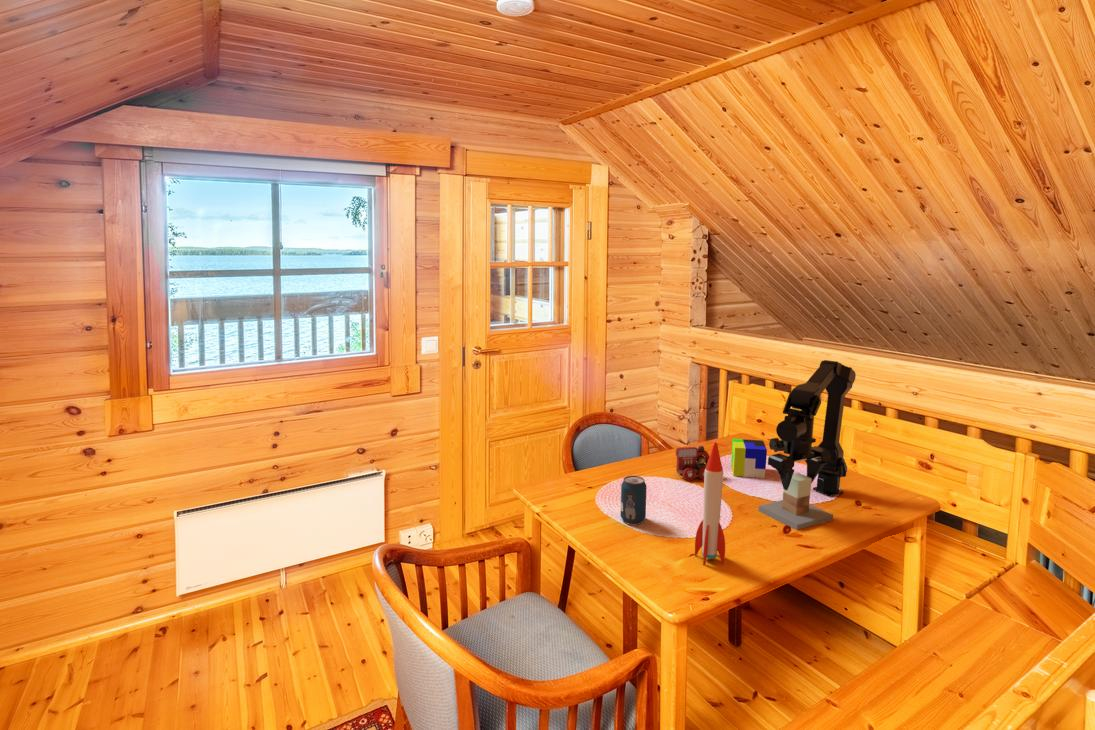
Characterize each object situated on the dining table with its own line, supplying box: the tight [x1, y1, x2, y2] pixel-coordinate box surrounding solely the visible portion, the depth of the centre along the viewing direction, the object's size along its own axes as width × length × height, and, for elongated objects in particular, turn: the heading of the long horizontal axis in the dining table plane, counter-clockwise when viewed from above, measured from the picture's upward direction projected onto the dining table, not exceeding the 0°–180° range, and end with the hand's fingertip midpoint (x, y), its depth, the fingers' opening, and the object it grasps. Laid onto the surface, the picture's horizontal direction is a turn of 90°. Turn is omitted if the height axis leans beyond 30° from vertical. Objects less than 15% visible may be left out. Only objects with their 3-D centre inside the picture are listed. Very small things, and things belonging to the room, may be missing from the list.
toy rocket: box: [694, 441, 726, 566], centre depth 153 cm, size 6×6×30 cm
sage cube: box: [783, 472, 812, 498], centre depth 179 cm, size 5×5×5 cm
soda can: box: [620, 475, 647, 525], centre depth 176 cm, size 7×7×12 cm
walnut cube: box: [782, 491, 811, 515], centre depth 180 cm, size 5×5×5 cm
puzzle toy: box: [730, 438, 768, 479], centre depth 214 cm, size 10×10×10 cm
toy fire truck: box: [675, 445, 710, 482], centre depth 210 cm, size 7×12×10 cm, turn 100°
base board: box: [758, 499, 834, 531], centre depth 181 cm, size 14×14×2 cm
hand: (797, 486), depth 179 cm, fingers open, 9 cm apart
